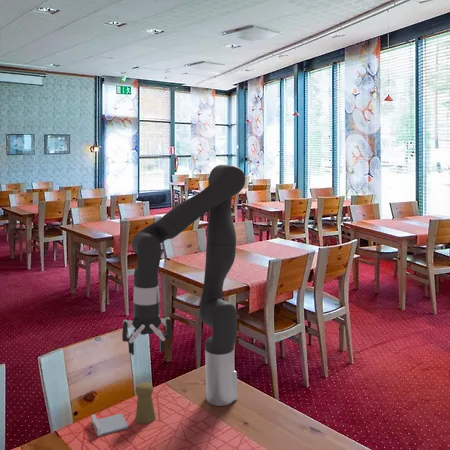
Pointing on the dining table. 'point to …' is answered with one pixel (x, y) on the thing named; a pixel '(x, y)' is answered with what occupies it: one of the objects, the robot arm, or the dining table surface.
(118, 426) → the slate shelf board
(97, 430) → the rail
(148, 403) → the cork
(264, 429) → the dining table surface
